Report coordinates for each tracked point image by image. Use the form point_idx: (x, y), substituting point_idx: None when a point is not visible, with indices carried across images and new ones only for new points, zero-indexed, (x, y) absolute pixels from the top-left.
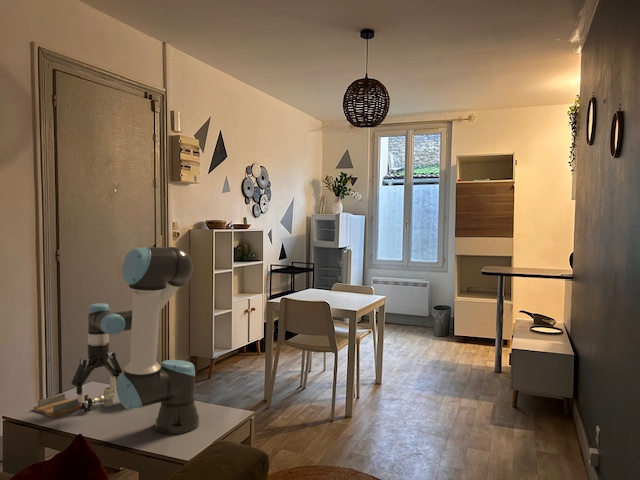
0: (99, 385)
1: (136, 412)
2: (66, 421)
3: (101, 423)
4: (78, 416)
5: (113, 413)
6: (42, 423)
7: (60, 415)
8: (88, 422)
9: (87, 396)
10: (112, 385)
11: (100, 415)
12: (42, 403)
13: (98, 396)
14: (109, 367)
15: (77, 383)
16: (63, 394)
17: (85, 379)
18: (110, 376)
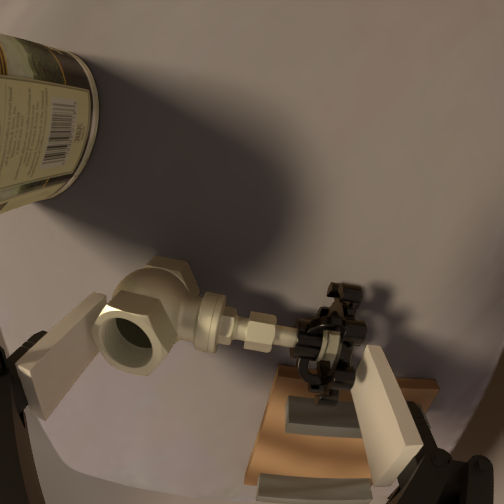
0: (63, 446)
1: (196, 9)
2: (466, 297)
3: (437, 84)
4: (398, 298)
5: (277, 126)
6: (489, 364)
7: (410, 379)
8: (454, 171)
9: (343, 369)
10: (79, 343)
11: (343, 183)
12: (359, 488)
13: (215, 350)
14: (15, 494)
15: (477, 472)
16: (265, 495)
17: (409, 501)
18: (46, 414)
